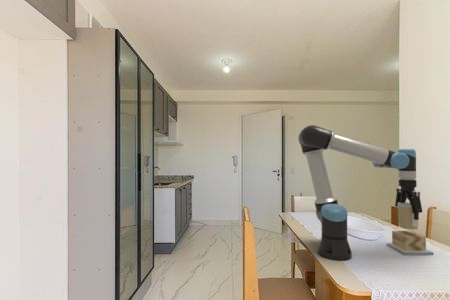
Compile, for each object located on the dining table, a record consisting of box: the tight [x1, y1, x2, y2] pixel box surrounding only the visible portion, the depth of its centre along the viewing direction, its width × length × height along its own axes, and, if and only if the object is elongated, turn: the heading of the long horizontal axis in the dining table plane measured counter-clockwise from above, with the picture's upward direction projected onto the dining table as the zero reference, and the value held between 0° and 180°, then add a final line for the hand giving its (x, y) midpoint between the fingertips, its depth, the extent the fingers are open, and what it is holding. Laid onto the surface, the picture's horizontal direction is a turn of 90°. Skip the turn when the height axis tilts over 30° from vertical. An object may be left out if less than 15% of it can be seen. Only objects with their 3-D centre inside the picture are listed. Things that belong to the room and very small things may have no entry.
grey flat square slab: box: [385, 242, 434, 256], centre depth 135 cm, size 14×14×1 cm
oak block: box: [391, 230, 427, 251], centre depth 135 cm, size 10×10×7 cm
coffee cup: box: [397, 201, 419, 230], centre depth 135 cm, size 9×9×12 cm
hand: (408, 223), depth 135 cm, fingers closed on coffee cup, 9 cm apart
